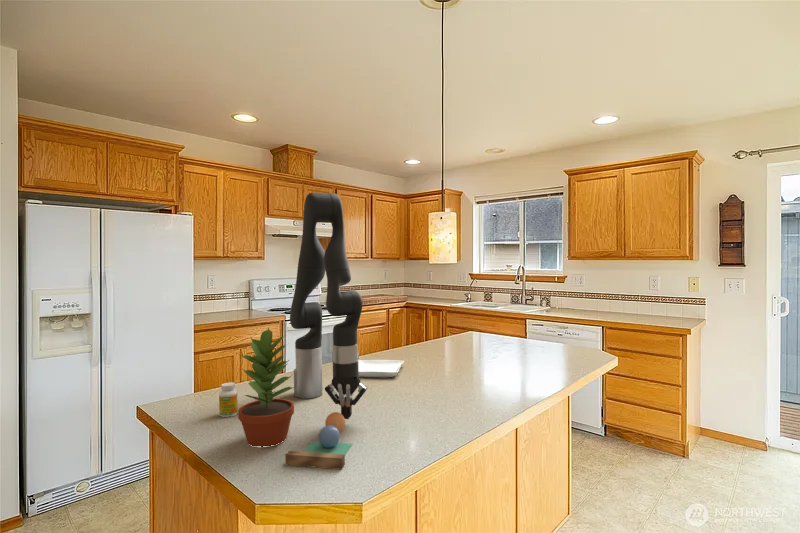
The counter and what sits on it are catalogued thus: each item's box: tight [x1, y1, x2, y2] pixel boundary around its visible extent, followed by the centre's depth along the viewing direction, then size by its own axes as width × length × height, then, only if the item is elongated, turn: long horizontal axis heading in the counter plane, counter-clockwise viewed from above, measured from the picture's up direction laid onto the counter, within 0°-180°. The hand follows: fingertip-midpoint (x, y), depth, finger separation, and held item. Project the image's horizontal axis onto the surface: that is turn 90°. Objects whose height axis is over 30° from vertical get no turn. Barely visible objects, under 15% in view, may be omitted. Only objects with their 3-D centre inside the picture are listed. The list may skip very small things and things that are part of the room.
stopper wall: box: [284, 450, 346, 470], centre depth 101 cm, size 14×2×2 cm, turn 79°
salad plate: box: [358, 359, 405, 378], centre depth 183 cm, size 21×21×3 cm
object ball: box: [317, 425, 341, 448], centre depth 110 cm, size 6×6×6 cm
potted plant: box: [237, 326, 296, 447], centre depth 115 cm, size 15×15×30 cm
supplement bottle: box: [218, 381, 239, 418], centre depth 135 cm, size 5×5×10 cm
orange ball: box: [324, 411, 346, 433], centre depth 119 cm, size 6×6×6 cm
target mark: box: [302, 440, 353, 456], centre depth 107 cm, size 11×11×1 cm
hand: (346, 418), depth 125 cm, fingers closed
